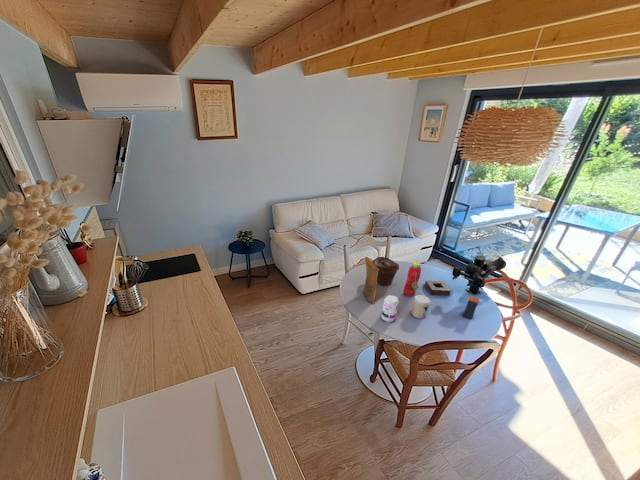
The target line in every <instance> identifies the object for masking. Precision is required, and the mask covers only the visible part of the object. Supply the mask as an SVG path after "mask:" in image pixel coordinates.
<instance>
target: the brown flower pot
mask: <svg viewBox="0 0 640 480" xmlns="http://www.w3.org/2000/svg"><path fill="white" fill-rule="evenodd" d="M372 262H373V263H374V264H375V265H376V266H377V268H378V269H379V270H378V275H377V282H376V285H380V286H384V287H385V286H390V285H391V284H392V282H393V280H394V278H395V276H396V275H397V272H398V271H399V270H400V265H399V263H397V262H395V261H393V260H392V259H390V258H388V257H385V256H378V257H375V258H374V259H373V260H372Z"/></svg>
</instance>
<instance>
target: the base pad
mask: <svg viewBox="0 0 640 480" xmlns="http://www.w3.org/2000/svg"><path fill="white" fill-rule="evenodd" d="M424 287H425V289H426V290H427V291H428V293H429V294H430V295H431V296H450V295H451V292H452V290H451V289H450V287H449V286H448V285H447V283H446V282H445V280H425V282H424Z"/></svg>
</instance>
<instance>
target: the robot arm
mask: <svg viewBox="0 0 640 480" xmlns="http://www.w3.org/2000/svg"><path fill="white" fill-rule="evenodd" d="M506 266H507V262H506V260H505V259H503V257H502V256H499V255H497V254H494V255H493V256H491V257H489V258H486V255H484V254H477V255H474V259H473V263H471V262H469V263H468V264H467V265H466V266H465V267H466V269H464V271H462V268H460V267H457V266H454V267H453V268H452V271H451V275H452V281H454V280H456V279H458V278H459V277H460V276H462V277H463V278H464V279H466V280H468V283H467V284H466V287H469V288H467V289H466V291H467V292H468V293H470V294H472V295H478V294H481V291H480V288H485V285H486V281H485V280H486V278H488V277H489V276H490V275H492V274H493V273H494V272H495V271H501V270H503V269H505V268H506Z"/></svg>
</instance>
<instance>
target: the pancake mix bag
mask: <svg viewBox="0 0 640 480" xmlns="http://www.w3.org/2000/svg"><path fill="white" fill-rule="evenodd" d="M364 262H365V271H366V274H365V283H364V289H363V295H364V297H365V298H366V300H367V302H369V303H371V304H374V302H375V301H376V292H377V291H376V290H377V283H376V282H377V275H378V270H379V269H378V268H377V266H376V265H375V264H374V263H373V260H370V258H369V257H368V256H367V255H366V256H365V257H364Z"/></svg>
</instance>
